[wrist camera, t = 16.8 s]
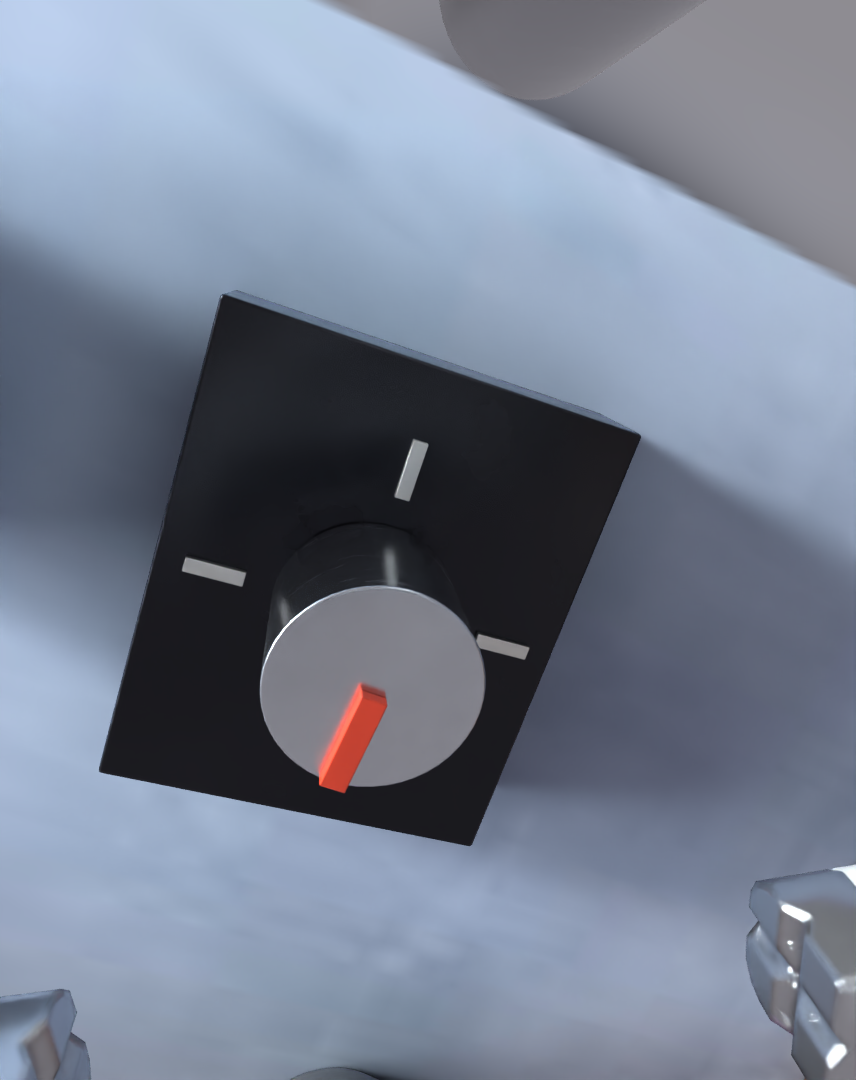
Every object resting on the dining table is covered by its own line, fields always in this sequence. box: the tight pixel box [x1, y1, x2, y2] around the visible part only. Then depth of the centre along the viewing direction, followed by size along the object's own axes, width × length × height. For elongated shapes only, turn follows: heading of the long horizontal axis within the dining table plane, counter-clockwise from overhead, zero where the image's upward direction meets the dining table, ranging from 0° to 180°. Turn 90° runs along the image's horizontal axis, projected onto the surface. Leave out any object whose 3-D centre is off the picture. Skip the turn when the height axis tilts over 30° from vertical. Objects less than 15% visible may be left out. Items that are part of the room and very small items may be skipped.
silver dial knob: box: [259, 523, 485, 793], centre depth 17 cm, size 4×4×4 cm
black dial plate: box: [99, 290, 641, 846], centre depth 21 cm, size 12×10×3 cm
